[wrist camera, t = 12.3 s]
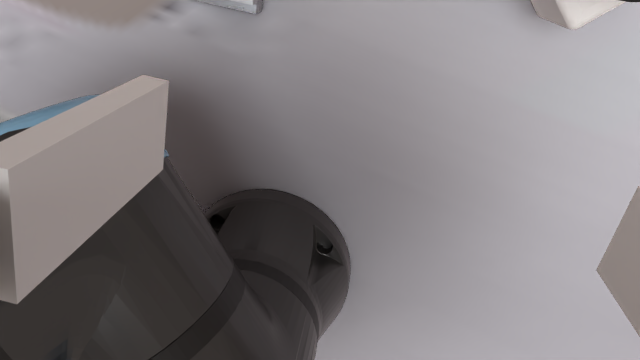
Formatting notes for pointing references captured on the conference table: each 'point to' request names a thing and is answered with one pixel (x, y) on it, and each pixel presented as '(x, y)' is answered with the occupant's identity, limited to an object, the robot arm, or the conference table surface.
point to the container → (574, 10)
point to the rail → (238, 4)
